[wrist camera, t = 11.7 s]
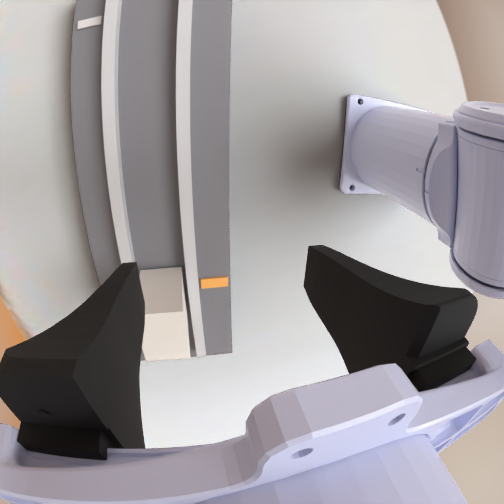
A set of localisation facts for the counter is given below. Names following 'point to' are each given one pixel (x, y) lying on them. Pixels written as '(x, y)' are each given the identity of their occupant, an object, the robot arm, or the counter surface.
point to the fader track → (157, 147)
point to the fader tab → (164, 315)
